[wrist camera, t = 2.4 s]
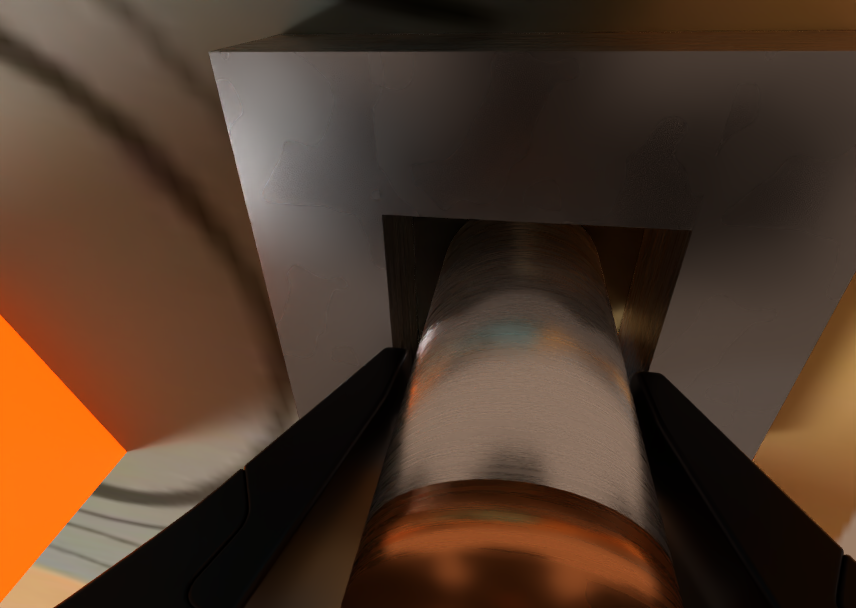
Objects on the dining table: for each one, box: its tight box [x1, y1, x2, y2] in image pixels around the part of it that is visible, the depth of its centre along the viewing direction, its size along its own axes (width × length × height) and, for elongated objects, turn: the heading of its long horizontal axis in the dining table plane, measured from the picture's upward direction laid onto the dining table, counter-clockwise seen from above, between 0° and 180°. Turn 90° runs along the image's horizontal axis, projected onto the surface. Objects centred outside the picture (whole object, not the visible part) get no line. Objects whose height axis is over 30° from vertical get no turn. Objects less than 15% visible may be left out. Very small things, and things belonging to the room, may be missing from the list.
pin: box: [341, 219, 684, 608], centre depth 8 cm, size 4×4×8 cm
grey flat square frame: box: [209, 30, 856, 460], centre depth 10 cm, size 10×10×2 cm
